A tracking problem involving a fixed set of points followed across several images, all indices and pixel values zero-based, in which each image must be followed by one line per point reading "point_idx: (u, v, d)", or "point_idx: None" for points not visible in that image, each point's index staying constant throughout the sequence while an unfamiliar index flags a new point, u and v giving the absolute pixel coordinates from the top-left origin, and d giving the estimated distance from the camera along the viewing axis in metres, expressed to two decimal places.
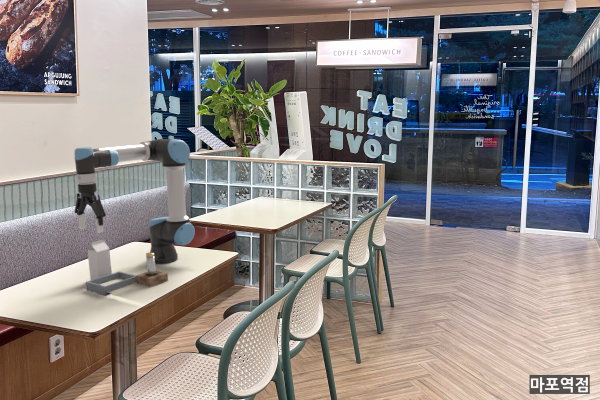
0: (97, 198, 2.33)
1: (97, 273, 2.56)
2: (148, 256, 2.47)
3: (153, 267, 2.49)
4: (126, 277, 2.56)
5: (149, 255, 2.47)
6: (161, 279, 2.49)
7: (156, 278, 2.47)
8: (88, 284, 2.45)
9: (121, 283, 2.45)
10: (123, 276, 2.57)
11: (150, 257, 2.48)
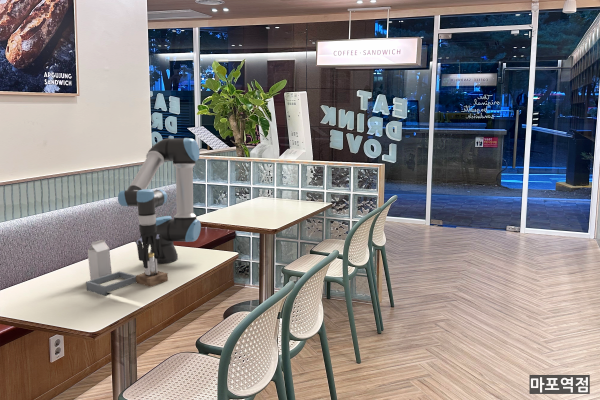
0: (137, 243, 2.43)
1: (97, 273, 2.56)
2: (148, 256, 2.47)
3: (153, 267, 2.49)
4: (126, 277, 2.56)
5: (149, 255, 2.47)
6: (161, 279, 2.49)
7: (156, 278, 2.47)
8: (88, 284, 2.45)
9: (121, 283, 2.45)
10: (123, 276, 2.57)
11: (150, 257, 2.47)
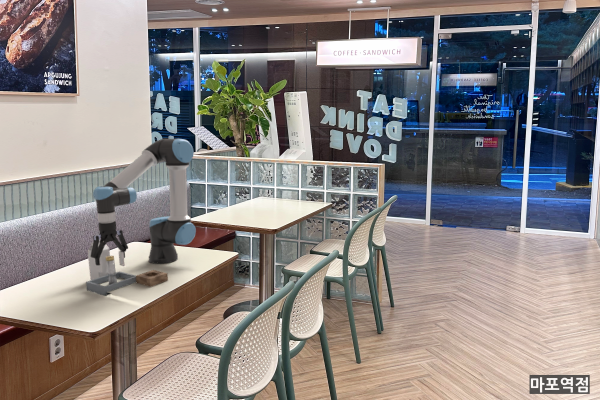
0: (95, 239, 2.40)
1: (97, 273, 2.56)
2: (107, 259, 2.45)
3: (113, 270, 2.47)
4: (126, 277, 2.56)
5: (108, 258, 2.45)
6: (161, 279, 2.49)
7: (156, 278, 2.47)
8: (88, 284, 2.45)
9: (121, 283, 2.45)
10: (123, 276, 2.57)
11: (109, 260, 2.46)
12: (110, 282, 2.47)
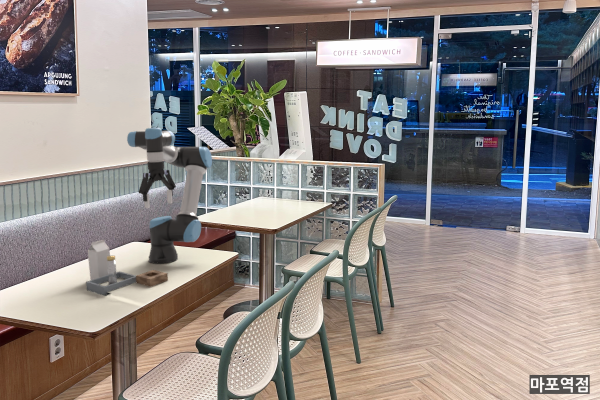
0: (144, 176, 2.50)
1: (97, 273, 2.56)
2: (109, 259, 2.46)
3: (114, 270, 2.47)
4: (126, 277, 2.56)
5: (110, 258, 2.46)
6: (161, 279, 2.49)
7: (156, 278, 2.47)
8: (88, 284, 2.45)
9: (121, 283, 2.45)
10: (123, 276, 2.57)
11: (111, 260, 2.46)
12: (110, 282, 2.48)
